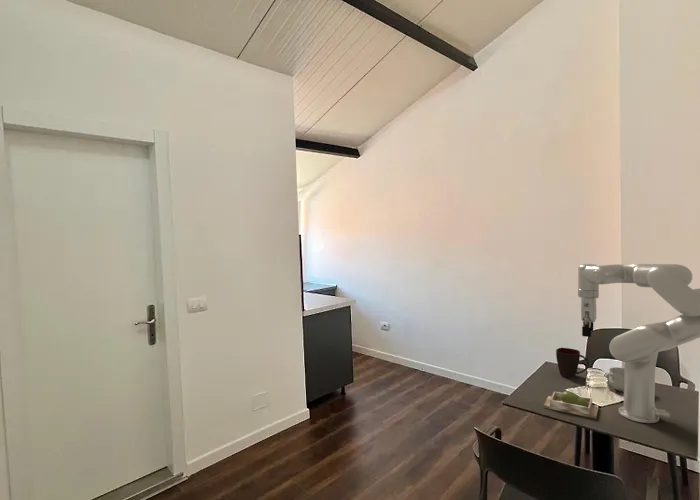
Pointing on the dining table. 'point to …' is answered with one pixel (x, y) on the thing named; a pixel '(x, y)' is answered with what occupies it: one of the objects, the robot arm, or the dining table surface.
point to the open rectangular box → (571, 406)
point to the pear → (573, 399)
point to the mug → (569, 361)
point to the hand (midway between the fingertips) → (587, 333)
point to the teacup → (616, 378)
